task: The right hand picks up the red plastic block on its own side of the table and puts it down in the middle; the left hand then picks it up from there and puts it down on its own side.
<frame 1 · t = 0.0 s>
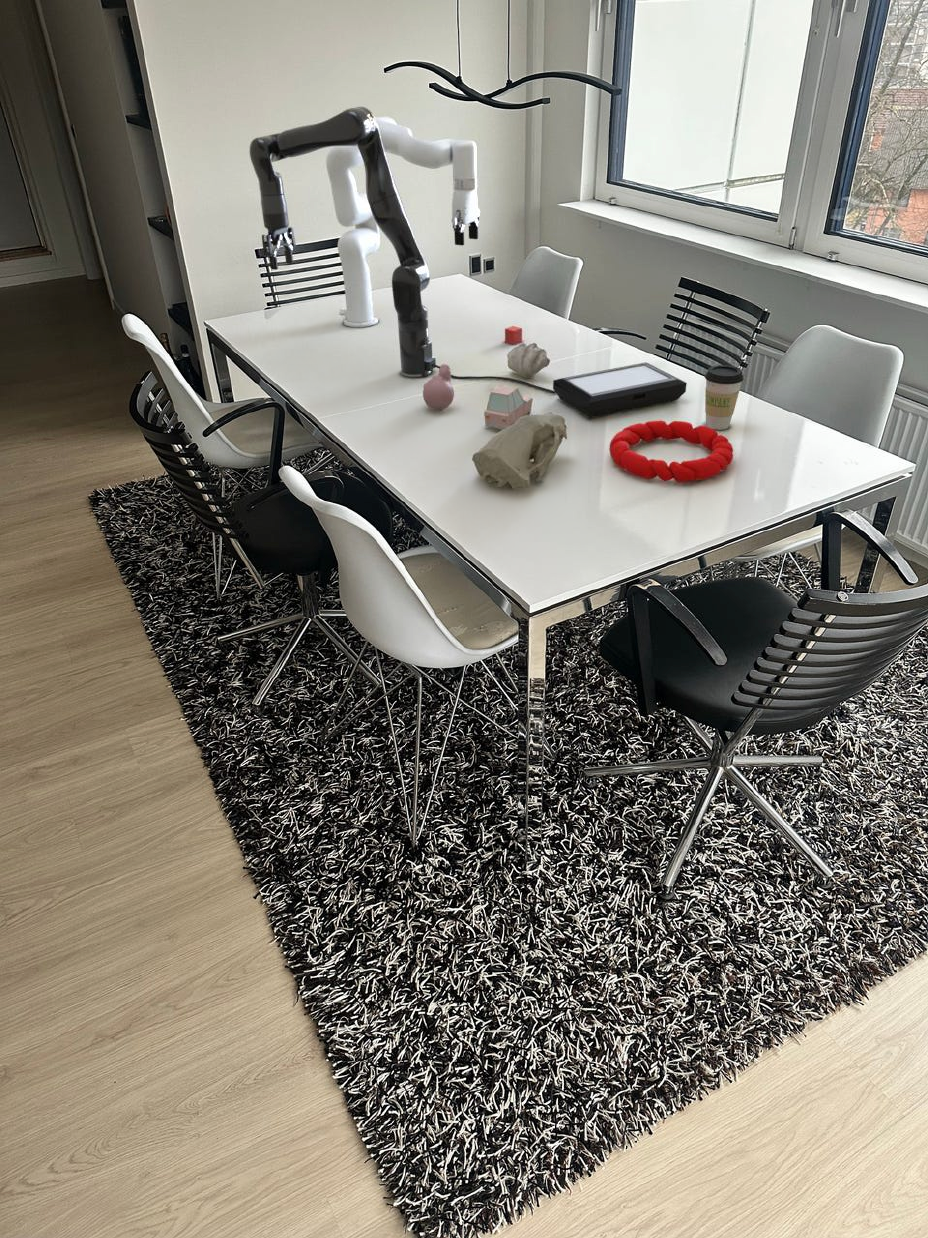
left hand: (466, 241, 292), 31 cm above the table, tool pointing down, fingers open, 9 cm apart
right hand: (282, 266, 280), 29 cm above the table, tool pointing down, fingers open, 8 cm apart
toy car: (508, 422, 245), on the table
animal skull: (527, 471, 219), on the table
figurine: (437, 408, 256), on the table
decorative ring: (669, 459, 223), on the table
coffee cup: (717, 425, 240), on the table
seashell: (528, 376, 276), on the table
block: (513, 342, 304), on the table
electronic device: (618, 400, 257), on the table
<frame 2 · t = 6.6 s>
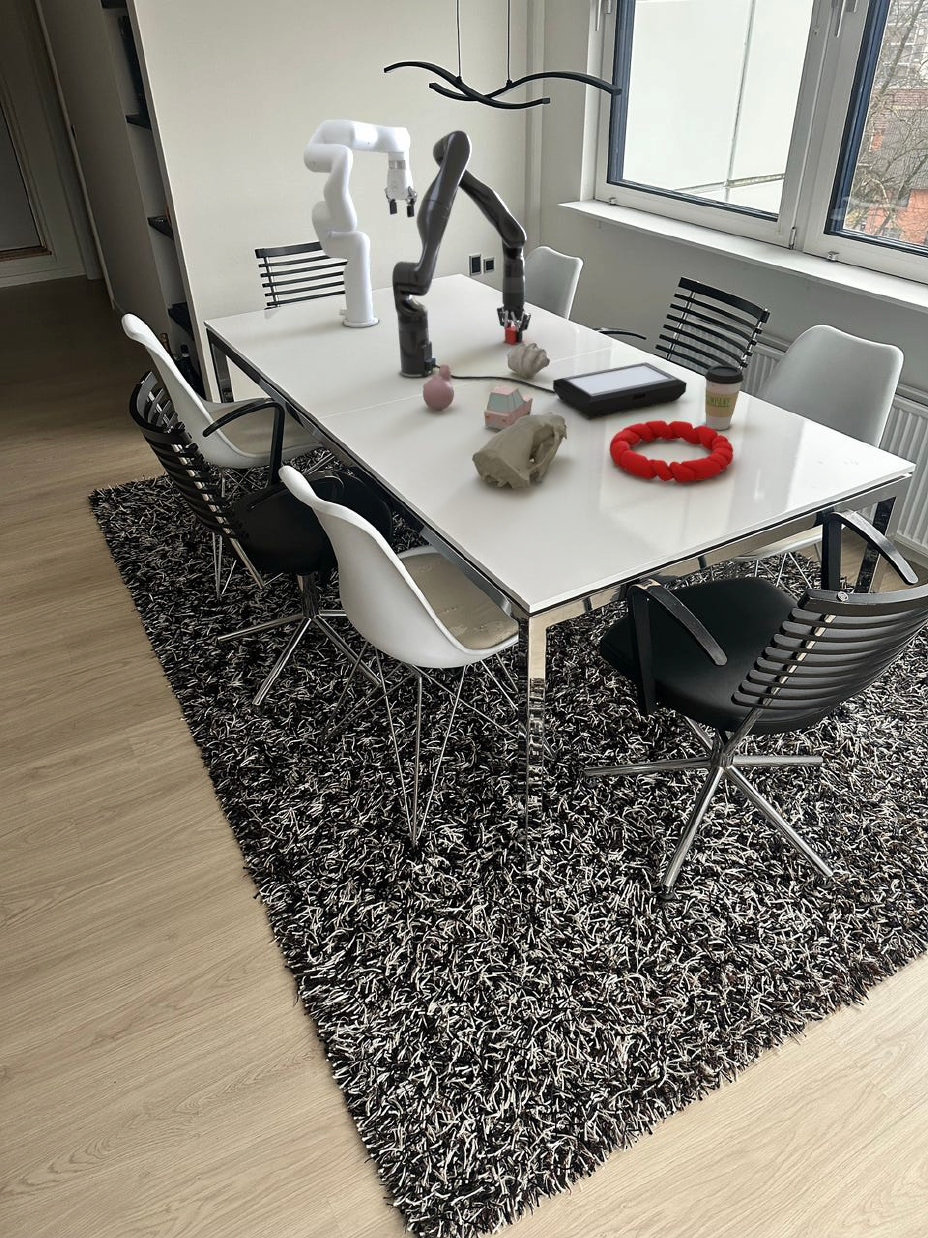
left hand: (402, 215, 337), 30 cm above the table, tool pointing down, fingers open, 9 cm apart
right hand: (513, 340, 304), 0 cm above the table, tool pointing down, fingers closed on block, 4 cm apart
block: (513, 342, 304), on the table, touching right hand
everything else where it was.
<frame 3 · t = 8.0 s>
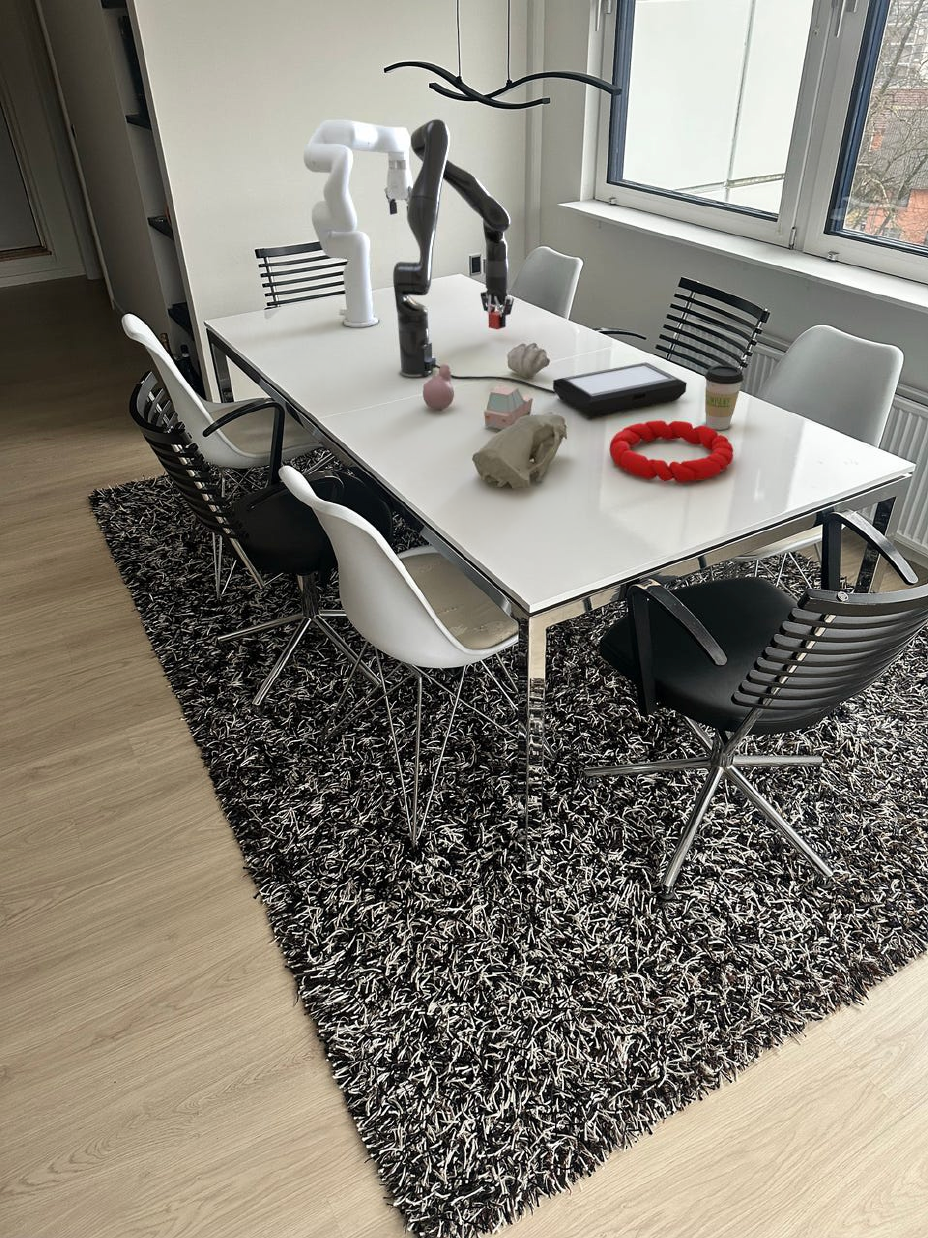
left hand: (402, 215, 337), 30 cm above the table, tool pointing down, fingers open, 9 cm apart
right hand: (497, 325, 303), 5 cm above the table, tool pointing down, fingers closed on block, 4 cm apart
block: (497, 327, 303), point 5 cm above the table, touching right hand
everything else where it was.
when the right hand's fingers open (1 cm above the table, at t = 9.6 s): block stays where it is, on the table.
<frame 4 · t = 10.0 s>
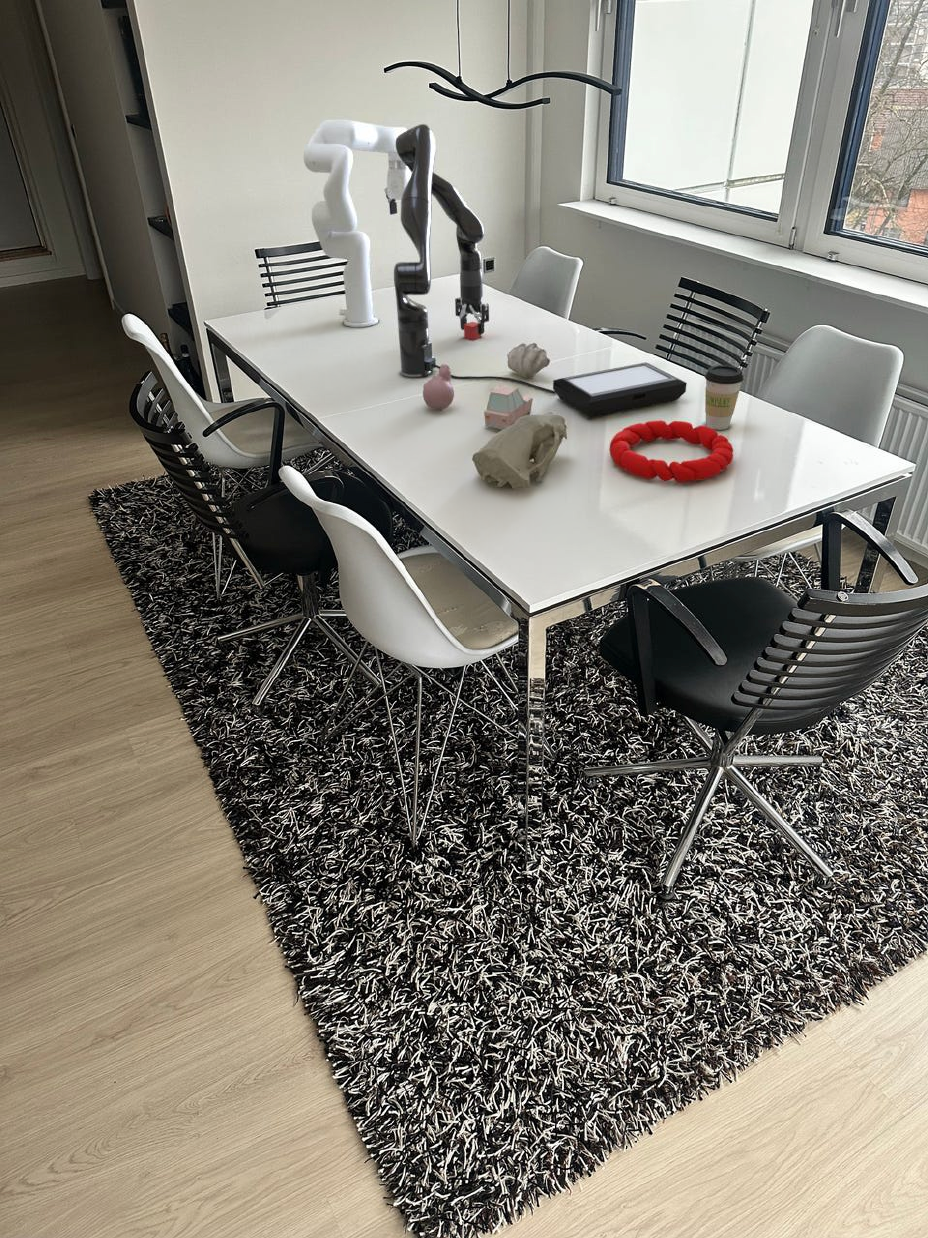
left hand: (402, 215, 337), 30 cm above the table, tool pointing down, fingers open, 9 cm apart
right hand: (472, 331, 308), 2 cm above the table, tool pointing down, fingers open, 7 cm apart
block: (472, 337, 309), on the table
everything else where it was.
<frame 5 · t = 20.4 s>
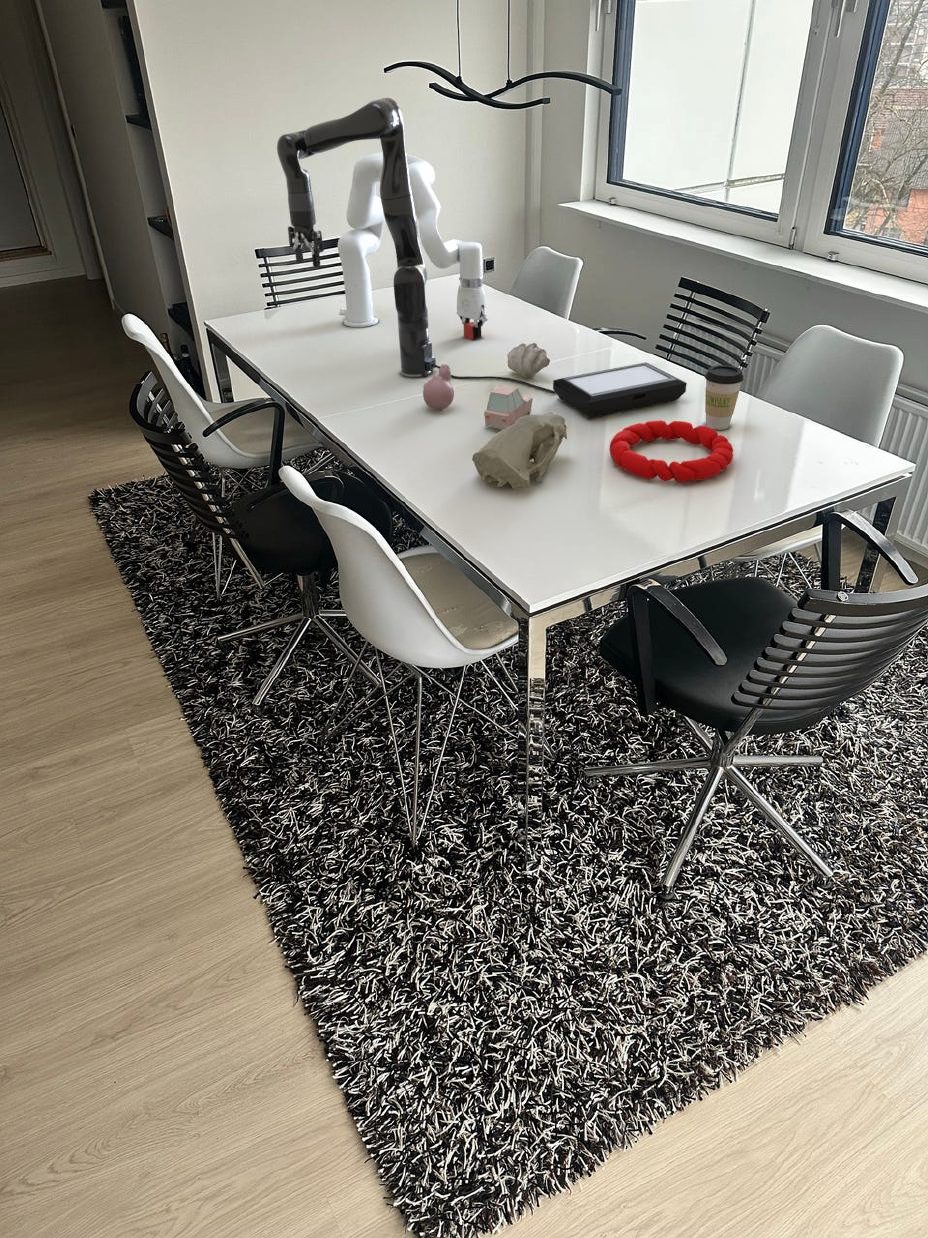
left hand: (472, 336, 309), 0 cm above the table, tool pointing down, fingers closed on block, 4 cm apart
right hand: (308, 264, 277), 30 cm above the table, tool pointing down, fingers open, 8 cm apart
block: (472, 337, 309), on the table, touching left hand
everything else where it was.
when the left hand's fingers open (1 cm above the table, at t = 25.6 s): block stays where it is, on the table.
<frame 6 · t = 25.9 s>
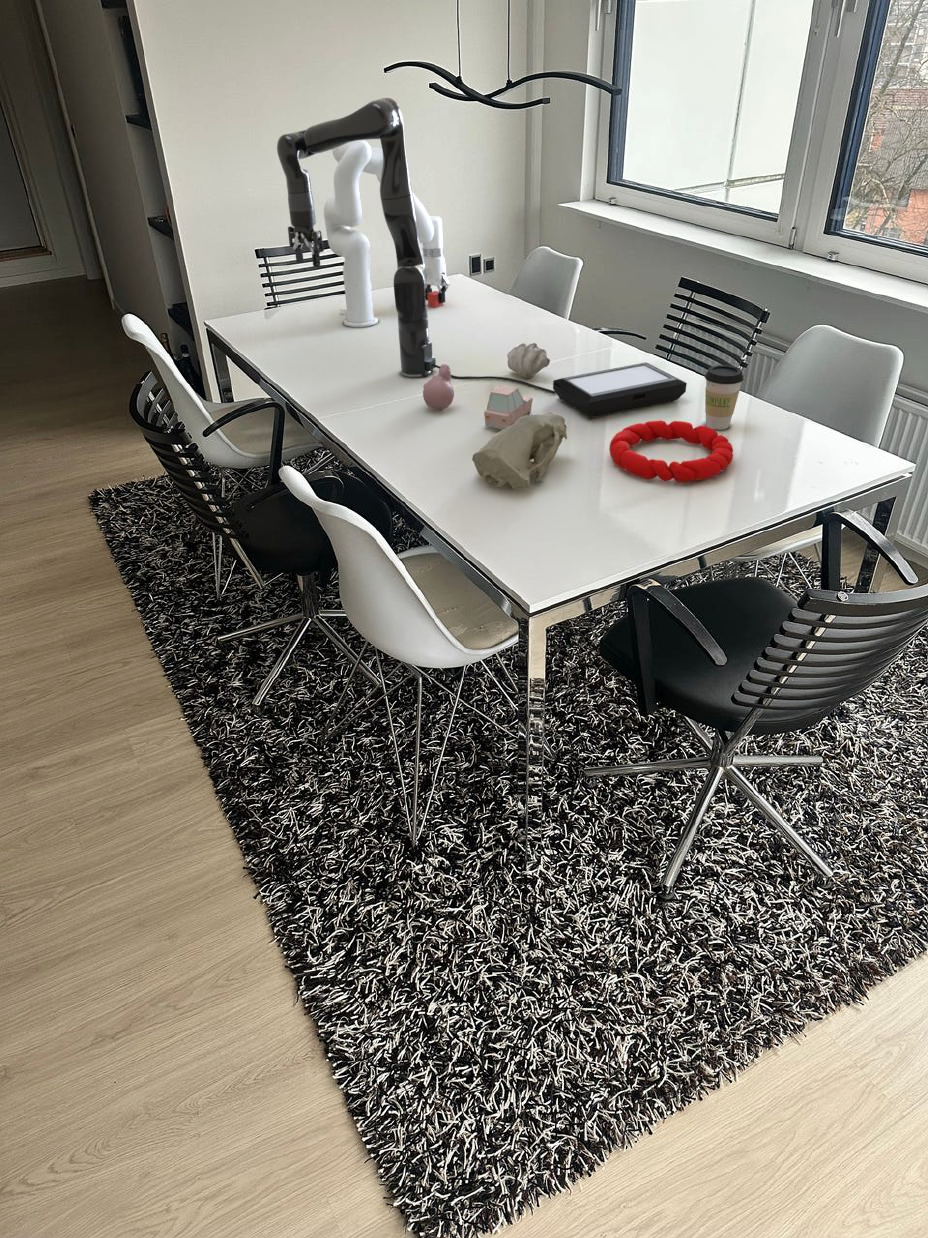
left hand: (435, 300, 344), 2 cm above the table, tool pointing down, fingers open, 6 cm apart
right hand: (308, 264, 277), 30 cm above the table, tool pointing down, fingers open, 8 cm apart
block: (435, 305, 344), on the table
everything else where it was.
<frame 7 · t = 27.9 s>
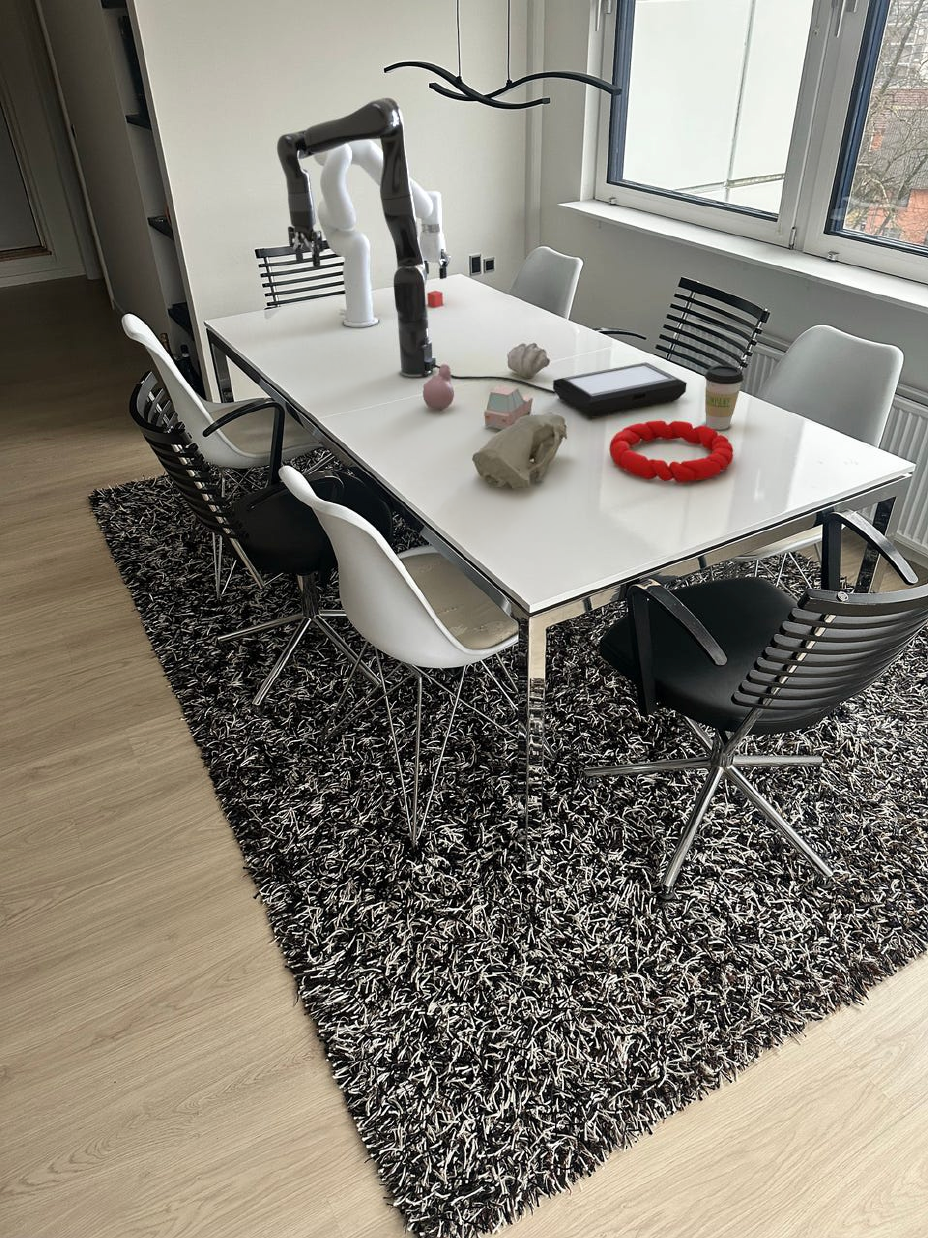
left hand: (434, 276, 338), 11 cm above the table, tool pointing down, fingers open, 9 cm apart
right hand: (308, 264, 277), 30 cm above the table, tool pointing down, fingers open, 8 cm apart
nothing on the table moved.
at the end: block inside the target area (0.0 cm from its centre), on the table; block tilted 0°; the two hands never held the block at the same time; the left hand is holding nothing; the right hand is holding nothing; block at rest at the end (0.0 cm/s) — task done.
